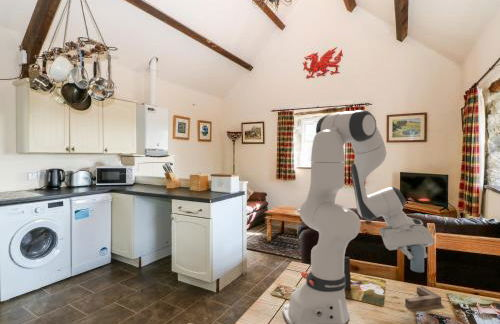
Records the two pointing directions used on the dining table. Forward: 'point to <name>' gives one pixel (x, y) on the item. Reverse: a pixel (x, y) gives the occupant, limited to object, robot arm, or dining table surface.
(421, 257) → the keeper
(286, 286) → the dining table surface
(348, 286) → the door stopper
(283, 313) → the robot arm
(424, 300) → the stop rail
